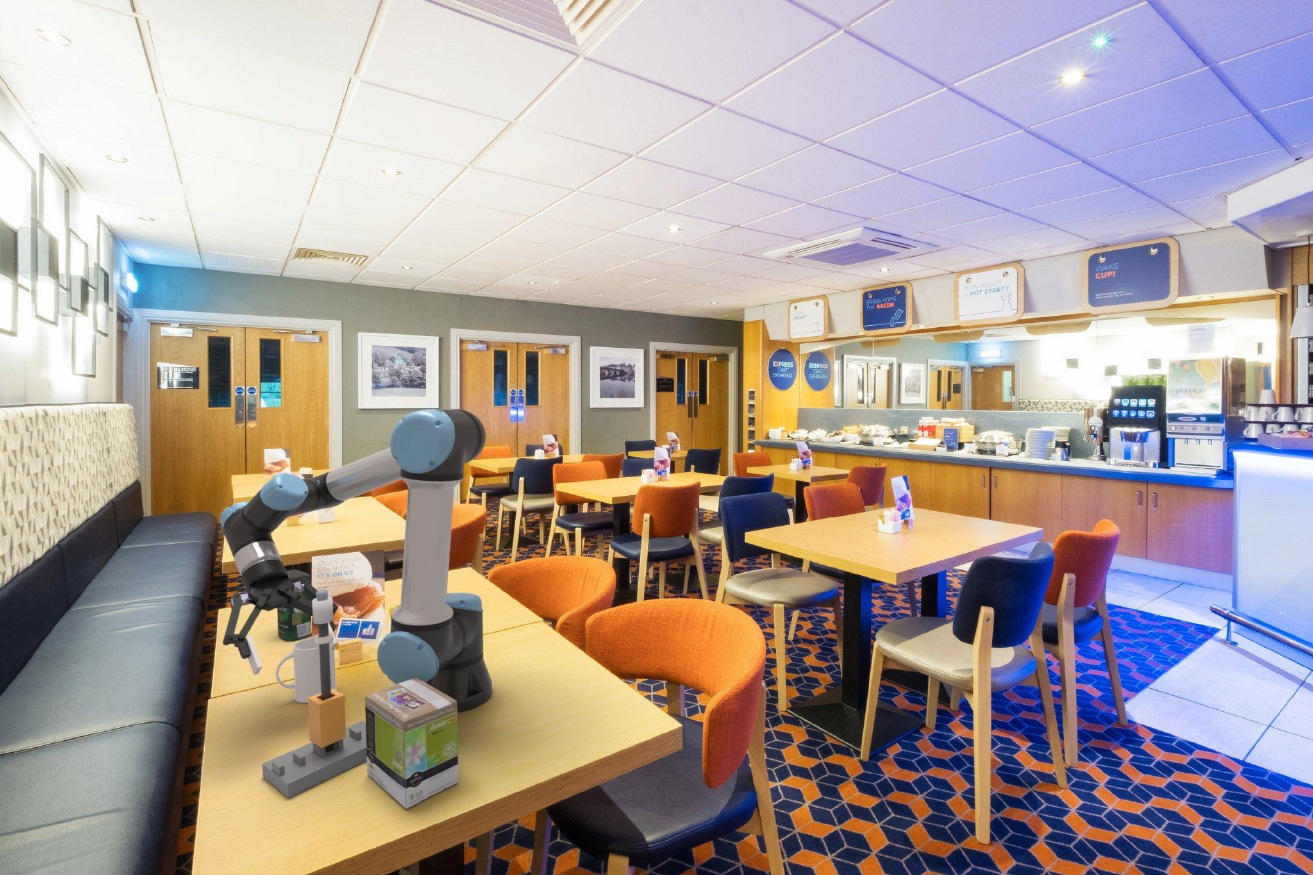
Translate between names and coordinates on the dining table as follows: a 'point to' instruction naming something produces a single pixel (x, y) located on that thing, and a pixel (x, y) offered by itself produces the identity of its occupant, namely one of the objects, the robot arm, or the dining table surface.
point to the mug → (307, 670)
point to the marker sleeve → (327, 719)
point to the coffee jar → (294, 614)
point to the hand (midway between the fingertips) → (297, 658)
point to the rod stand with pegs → (311, 760)
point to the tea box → (411, 740)
